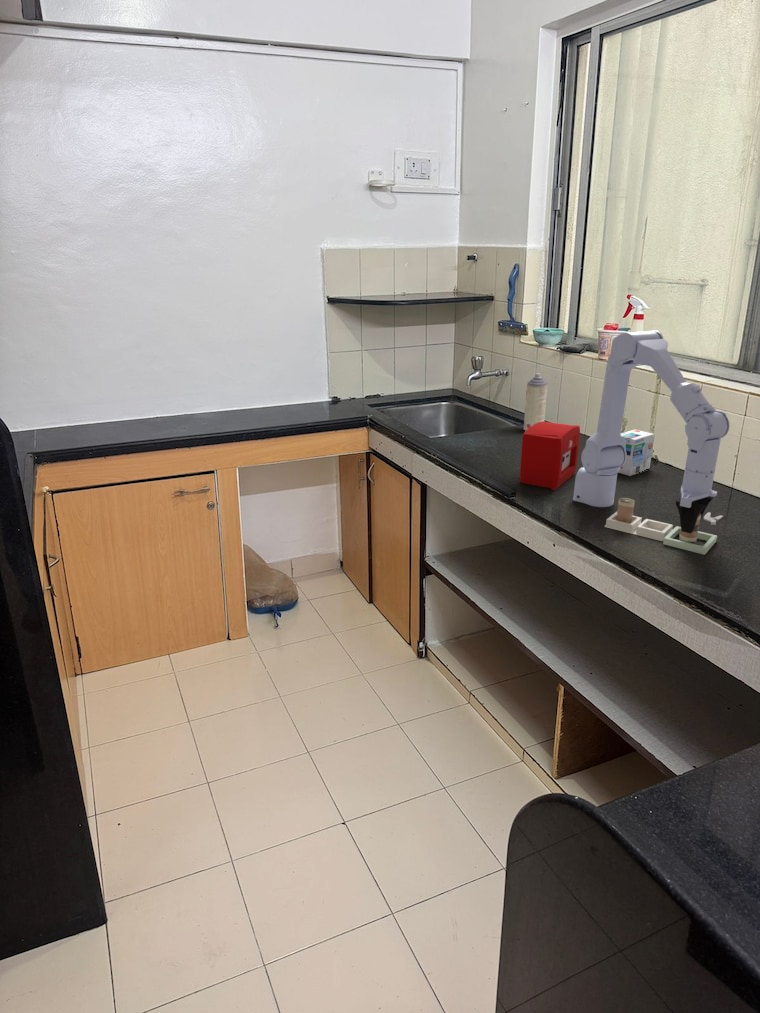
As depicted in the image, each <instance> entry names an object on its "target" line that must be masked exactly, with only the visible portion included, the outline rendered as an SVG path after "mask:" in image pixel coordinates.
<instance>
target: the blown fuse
mask: <svg viewBox="0 0 760 1013" xmlns="http://www.w3.org/2000/svg"><path fill="white" fill-rule="evenodd" d="M700 518H701V513H700V514H699V516H698V519H697V521H696V524H695V527H694V530H693V532H692V533H686V532H682V531H680V534H679V537H678V538H679V539H678V540H680V541H684V542H688V543H695V542H697V540H698V539H697V534H698V531H699V528H700V523H701V521H700Z"/></svg>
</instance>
